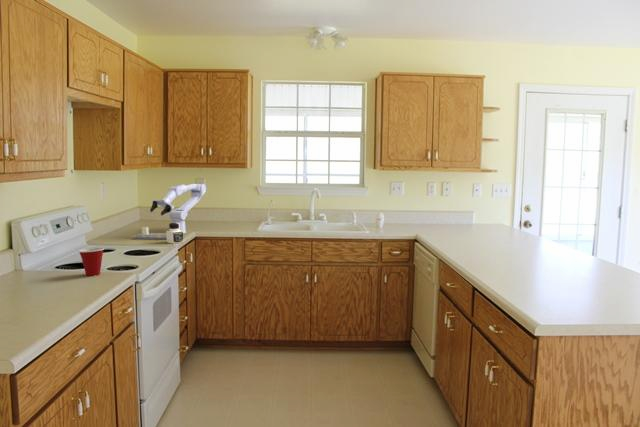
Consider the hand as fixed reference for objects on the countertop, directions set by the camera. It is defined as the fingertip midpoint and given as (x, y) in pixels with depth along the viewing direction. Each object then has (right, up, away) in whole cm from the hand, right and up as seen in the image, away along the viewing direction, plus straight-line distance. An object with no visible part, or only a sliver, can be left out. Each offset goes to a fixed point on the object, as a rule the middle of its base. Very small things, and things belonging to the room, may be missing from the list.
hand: (156, 212), depth 324 cm
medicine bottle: (+15, -18, -11) cm, 26 cm away
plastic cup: (+1, -28, -93) cm, 97 cm away
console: (-2, -16, +4) cm, 17 cm away
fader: (-8, -15, +5) cm, 17 cm away
